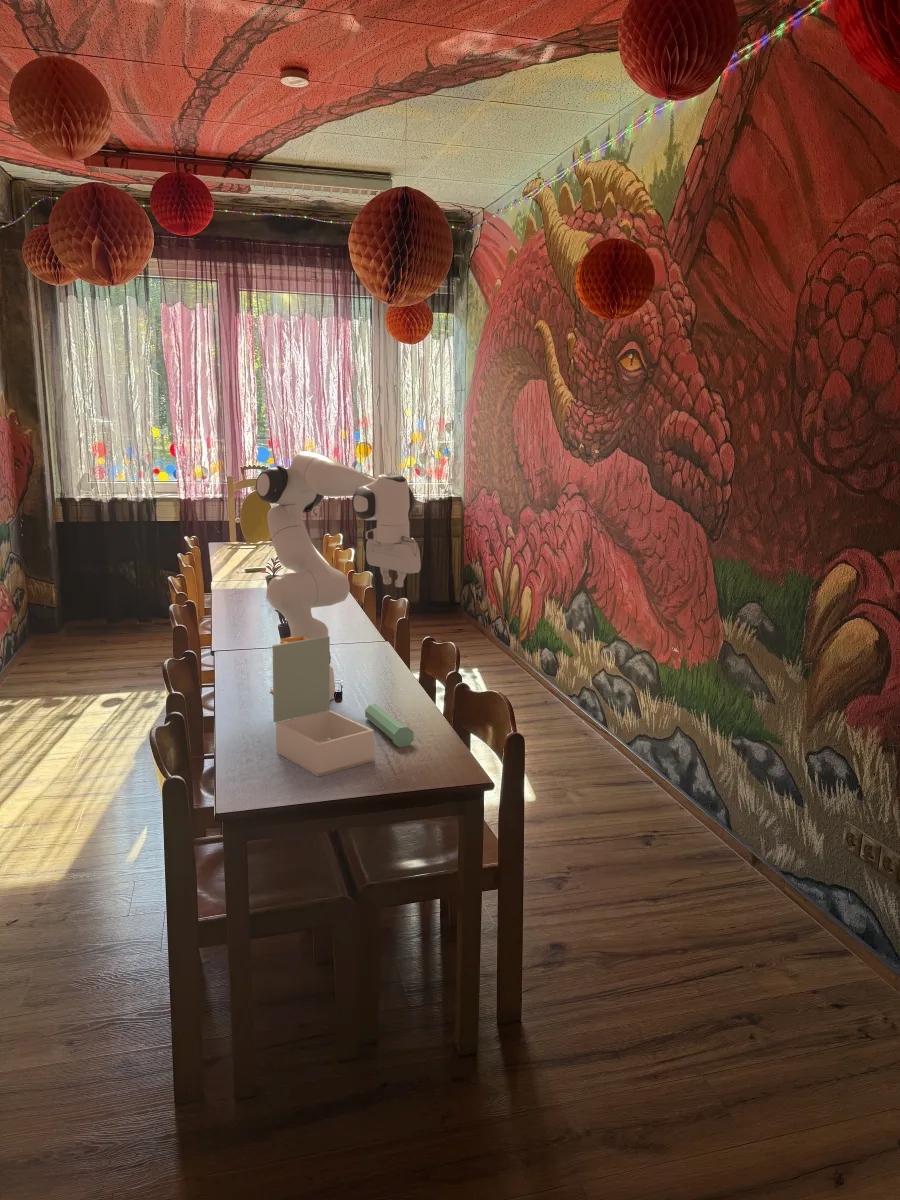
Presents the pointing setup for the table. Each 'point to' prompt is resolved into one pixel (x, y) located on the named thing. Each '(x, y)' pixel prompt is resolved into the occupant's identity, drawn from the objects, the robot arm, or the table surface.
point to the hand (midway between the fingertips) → (393, 585)
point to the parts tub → (325, 742)
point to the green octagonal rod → (389, 725)
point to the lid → (300, 677)
